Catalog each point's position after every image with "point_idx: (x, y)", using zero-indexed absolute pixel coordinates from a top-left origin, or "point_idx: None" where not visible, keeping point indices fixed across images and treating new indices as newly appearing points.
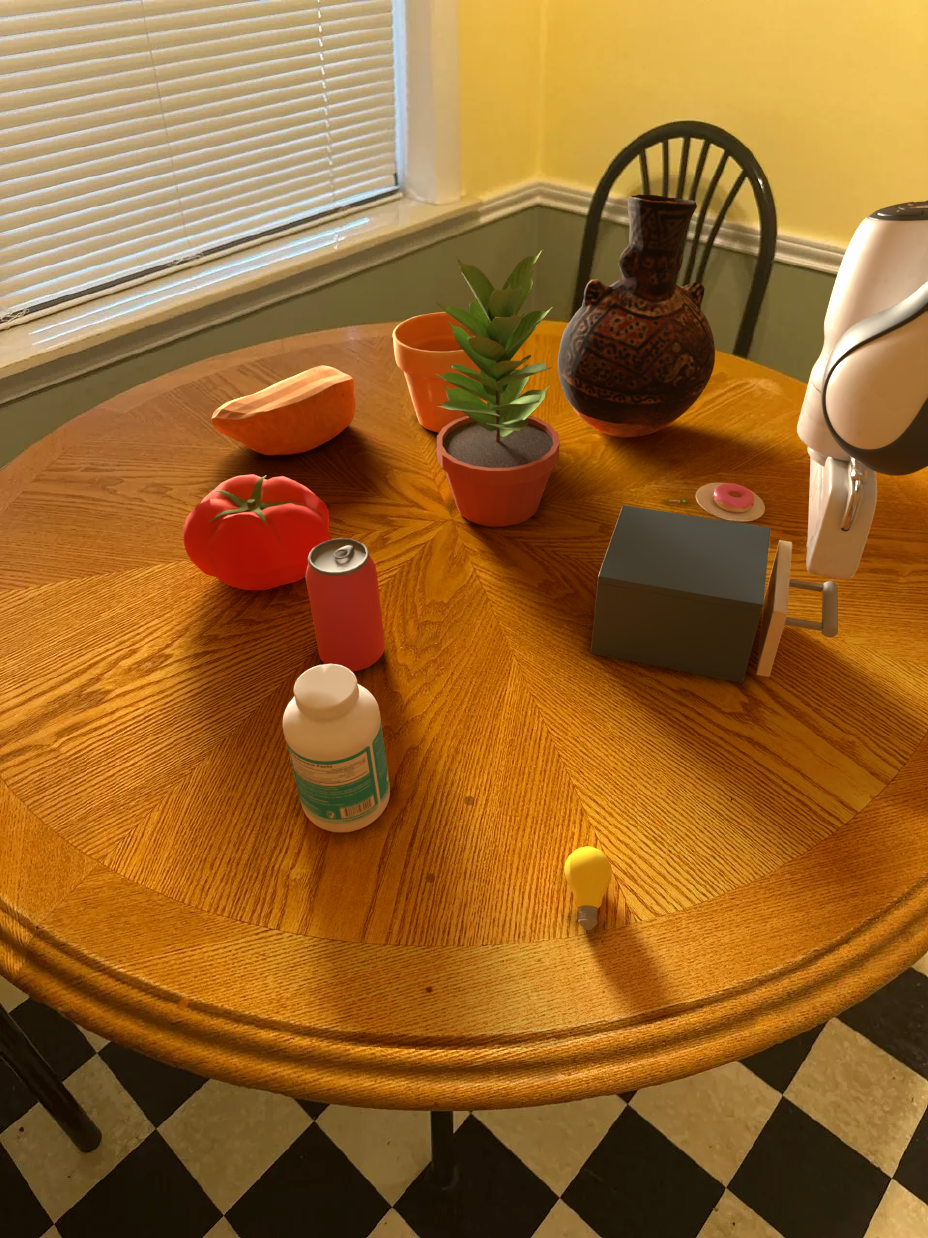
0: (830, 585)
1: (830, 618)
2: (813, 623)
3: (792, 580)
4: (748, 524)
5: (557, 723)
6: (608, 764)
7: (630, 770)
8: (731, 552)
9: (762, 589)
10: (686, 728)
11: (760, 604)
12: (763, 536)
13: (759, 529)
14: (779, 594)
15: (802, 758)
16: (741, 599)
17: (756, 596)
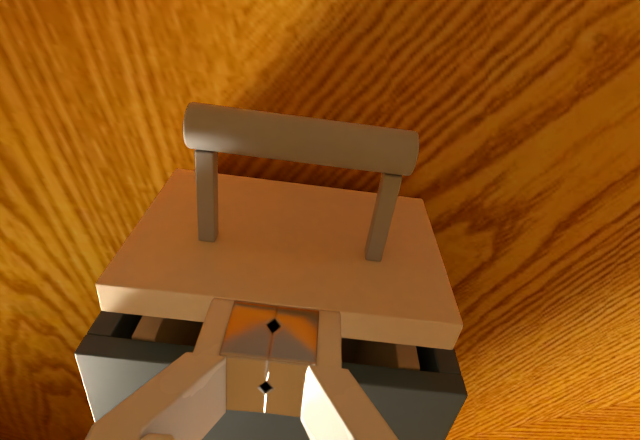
0: (208, 140)
1: (379, 161)
2: (390, 197)
3: (205, 226)
4: (88, 394)
5: (503, 420)
6: (583, 379)
7: (599, 360)
8: (242, 429)
9: (398, 391)
10: (525, 304)
11: (465, 399)
12: (133, 370)
13: (101, 376)
14: (379, 334)
15: (624, 145)
16: (443, 426)
17: (432, 404)
